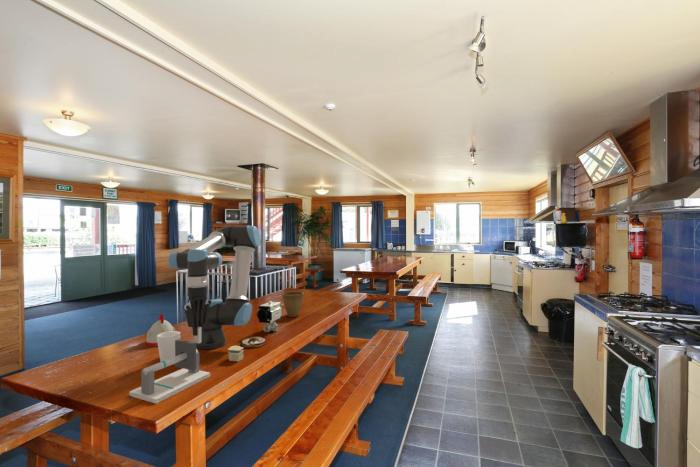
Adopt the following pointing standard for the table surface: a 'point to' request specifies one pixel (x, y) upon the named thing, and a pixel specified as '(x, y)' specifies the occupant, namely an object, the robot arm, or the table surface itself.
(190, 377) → the pipe rig
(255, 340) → the white shallow bowl
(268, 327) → the ball valve
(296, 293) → the plant pot
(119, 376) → the table surface
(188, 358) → the collar
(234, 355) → the beige layered block
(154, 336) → the kitchen timer
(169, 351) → the foam cup
